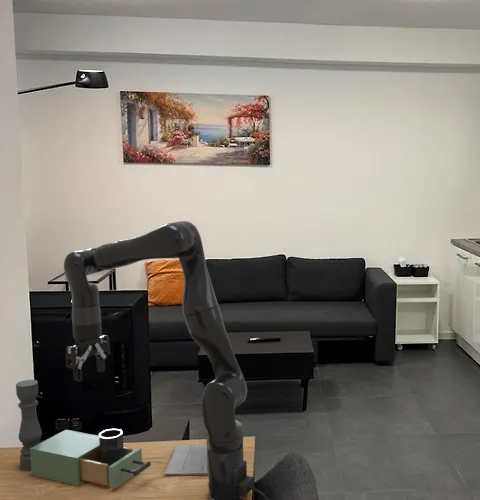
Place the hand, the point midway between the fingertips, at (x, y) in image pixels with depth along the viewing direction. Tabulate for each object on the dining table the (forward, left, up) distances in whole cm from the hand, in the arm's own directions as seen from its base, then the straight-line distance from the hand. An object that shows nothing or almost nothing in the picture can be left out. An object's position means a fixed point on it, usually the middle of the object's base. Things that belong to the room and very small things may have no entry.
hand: (89, 376), depth 184 cm
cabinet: (+5, +3, -28) cm, 29 cm away
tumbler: (-7, +1, -26) cm, 27 cm away
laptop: (-24, -14, -28) cm, 39 cm away
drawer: (-9, +3, -27) cm, 29 cm away
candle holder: (+18, +5, -28) cm, 34 cm away
